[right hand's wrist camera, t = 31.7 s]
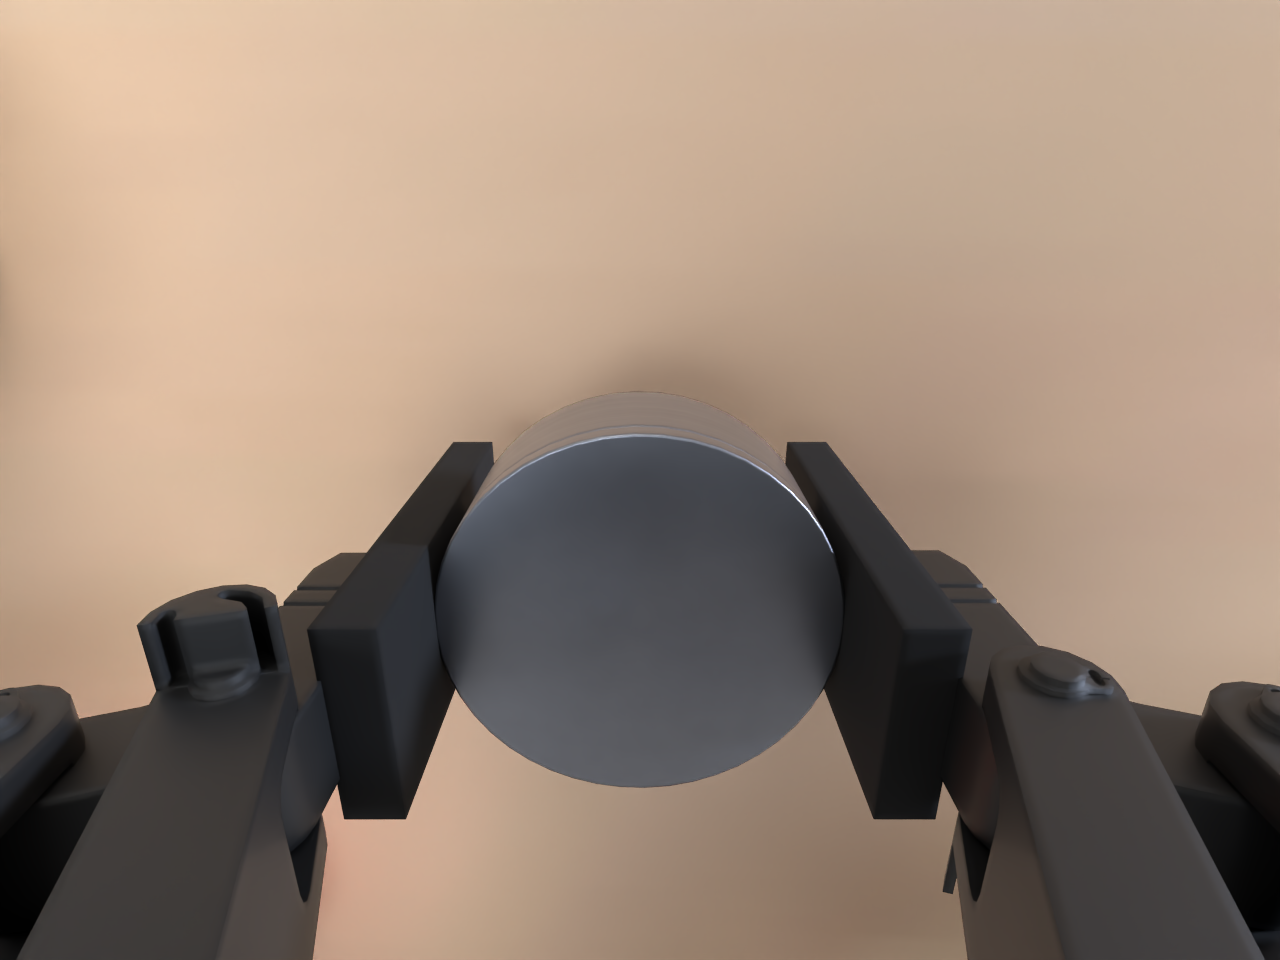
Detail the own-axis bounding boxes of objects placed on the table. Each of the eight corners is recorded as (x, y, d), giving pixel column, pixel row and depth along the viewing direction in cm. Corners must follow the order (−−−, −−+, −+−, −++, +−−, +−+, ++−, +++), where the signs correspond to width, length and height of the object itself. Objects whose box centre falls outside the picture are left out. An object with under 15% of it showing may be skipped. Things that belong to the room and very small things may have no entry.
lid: (820, 385, 11) (862, 427, 9) (800, 692, 13) (830, 784, 11) (449, 395, 11) (404, 439, 9) (488, 699, 13) (459, 792, 11)
